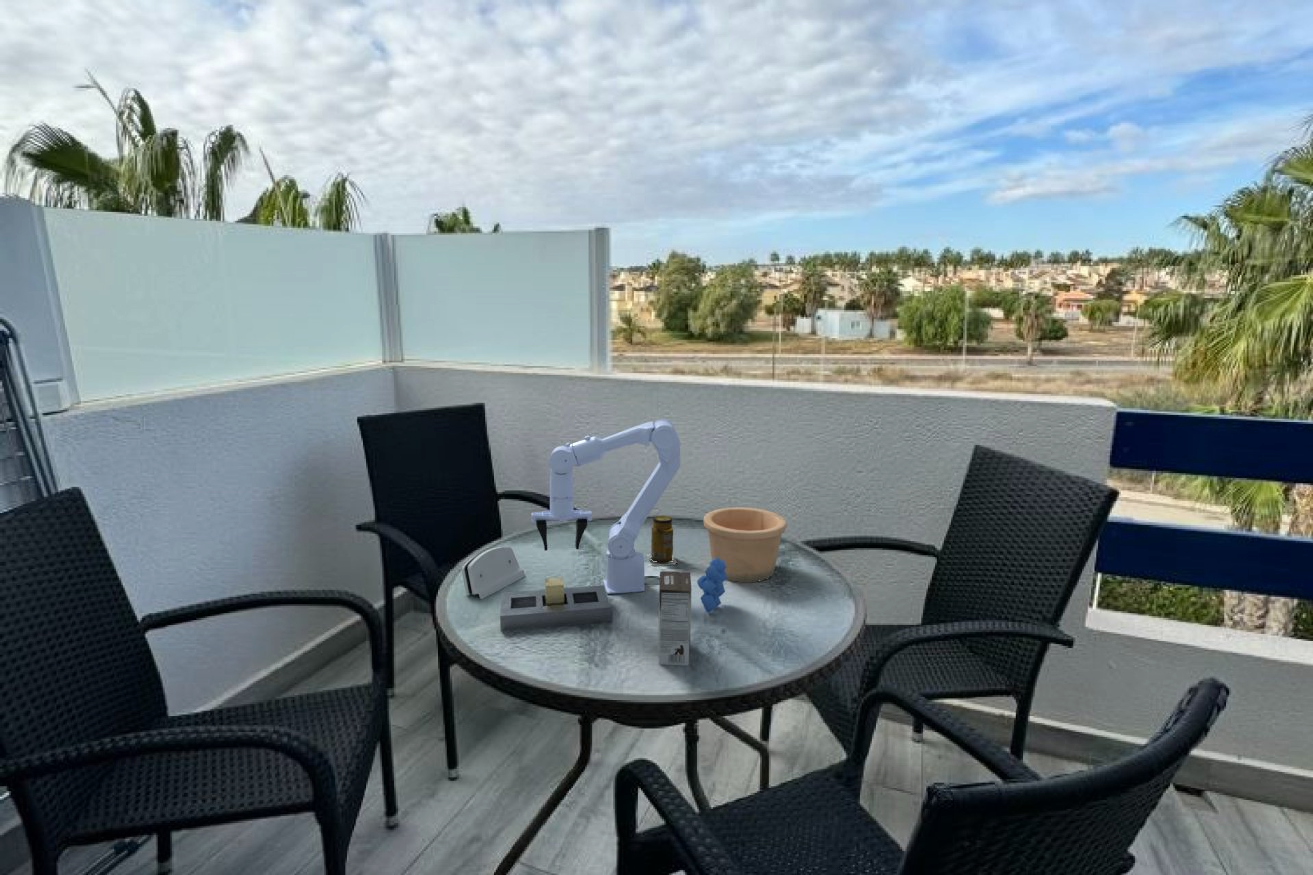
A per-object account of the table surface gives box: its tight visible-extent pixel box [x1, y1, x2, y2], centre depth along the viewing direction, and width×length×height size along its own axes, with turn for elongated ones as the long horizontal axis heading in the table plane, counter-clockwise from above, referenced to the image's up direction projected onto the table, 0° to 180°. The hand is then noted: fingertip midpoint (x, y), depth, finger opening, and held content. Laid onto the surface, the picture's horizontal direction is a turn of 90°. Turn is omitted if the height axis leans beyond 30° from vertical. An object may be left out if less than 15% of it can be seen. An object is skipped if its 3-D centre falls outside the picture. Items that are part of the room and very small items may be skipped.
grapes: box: [696, 558, 727, 613], centre depth 153 cm, size 12×7×12 cm, turn 154°
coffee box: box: [658, 570, 692, 666], centre depth 132 cm, size 9×6×16 cm
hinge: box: [461, 546, 526, 600], centre depth 166 cm, size 17×5×10 cm, turn 151°
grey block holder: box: [499, 584, 611, 632], centre depth 150 cm, size 24×12×4 cm, turn 101°
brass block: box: [544, 577, 565, 606], centre depth 149 cm, size 4×4×8 cm
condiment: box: [646, 515, 679, 567], centre depth 182 cm, size 7×8×12 cm
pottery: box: [703, 506, 788, 583], centre depth 175 cm, size 22×22×14 cm
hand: (561, 548), depth 162 cm, fingers open, 7 cm apart
